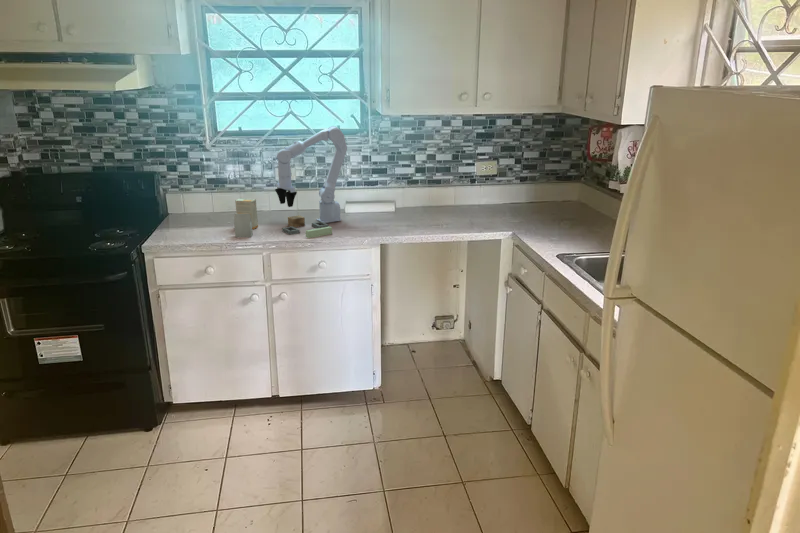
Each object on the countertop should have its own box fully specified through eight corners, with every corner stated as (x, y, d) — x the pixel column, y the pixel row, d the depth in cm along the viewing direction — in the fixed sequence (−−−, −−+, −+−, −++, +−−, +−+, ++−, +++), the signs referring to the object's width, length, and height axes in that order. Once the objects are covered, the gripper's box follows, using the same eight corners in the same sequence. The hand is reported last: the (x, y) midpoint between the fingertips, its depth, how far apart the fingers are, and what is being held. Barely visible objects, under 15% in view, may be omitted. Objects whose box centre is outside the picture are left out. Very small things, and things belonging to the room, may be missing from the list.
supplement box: (258, 227, 276) (256, 199, 272) (253, 229, 272) (251, 201, 268) (242, 225, 278) (240, 197, 274) (237, 228, 274) (234, 199, 270)
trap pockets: (321, 224, 281) (321, 218, 280) (339, 232, 269) (339, 225, 268) (282, 231, 270) (281, 224, 269) (299, 239, 257) (299, 233, 256)
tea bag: (251, 237, 260) (249, 214, 257) (235, 237, 260) (233, 214, 257) (252, 234, 264) (251, 212, 261) (237, 235, 264) (235, 212, 260)
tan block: (299, 223, 283) (299, 215, 282) (304, 225, 280) (304, 217, 278) (288, 225, 280) (287, 217, 279) (293, 227, 276) (292, 219, 275)
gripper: (269, 174, 280) (271, 203, 284) (284, 179, 269) (286, 209, 273) (283, 173, 284) (285, 201, 288) (298, 177, 273) (299, 207, 277)
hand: (286, 205), depth 281 cm, fingers open, 7 cm apart
